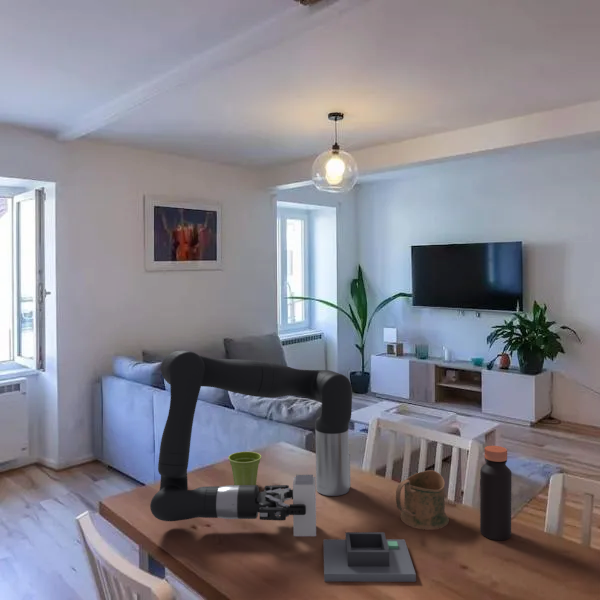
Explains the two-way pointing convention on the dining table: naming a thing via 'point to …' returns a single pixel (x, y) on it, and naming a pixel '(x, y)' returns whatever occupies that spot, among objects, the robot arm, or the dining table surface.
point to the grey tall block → (305, 495)
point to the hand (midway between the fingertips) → (306, 501)
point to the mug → (423, 501)
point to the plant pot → (245, 467)
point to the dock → (367, 559)
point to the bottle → (495, 495)
